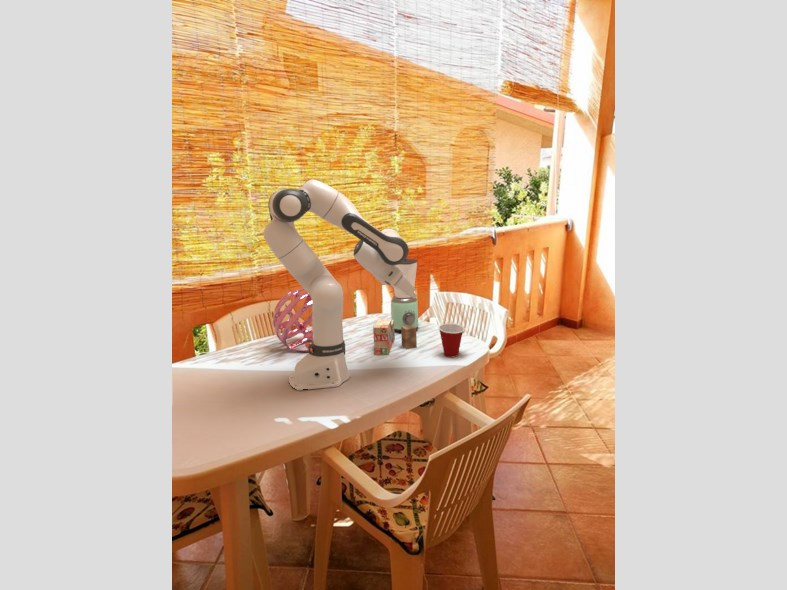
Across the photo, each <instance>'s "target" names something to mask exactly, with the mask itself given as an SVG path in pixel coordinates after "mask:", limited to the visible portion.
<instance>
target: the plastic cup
mask: <svg viewBox="0 0 787 590" xmlns="http://www.w3.org/2000/svg"><path fill="white" fill-rule="evenodd" d="M437 328H438V330H439V335H440V339H441V345H442V350H443V353H444V354H445V355H446V357H448V356H455V357H457V356H458V355H459V352H460V347H461V343H462V342H461V341H462V336H463V333H464V332H465V327H464V326H463V325H461V324H457V323H443V324H440V325H438V327H437ZM444 354H443V355H444ZM445 355H444V356H445ZM456 355H457V356H456Z"/></svg>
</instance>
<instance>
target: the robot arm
mask: <svg viewBox="0 0 787 590" xmlns="http://www.w3.org/2000/svg"><path fill="white" fill-rule="evenodd" d="M267 207H268V212H269V218H270V222H269V223H267V225H266V226H265V228H264V230H263V233H262V234H263V239H264V240H265V242H266V244H267V246H268V247H269V249H270V250H271V251H272V253H273V254H274V256H275V257H276V259H278V261H279V262H280V263H281V264H282V265H283V266H284V268H285V269H286V270H287V272H289V274H290V275H291V276H292V277H293V279H294V280H296V281H297V283H298V284H299V285H300V286H301V287H302V288H304V289H305V290H306V291H305V290H304V291H305V292H307V293H308V294H309V295H310V297H311V299H312V307H311V308H312V309H311V310H312V311H311V313H312V322H311V330H312V331H313V342H312V343H310V342H308V341H306V342H305V343H304V344H305V345H304V347H305V348H306V350H308V352H307V354H306V355H304V356H303V357H302V358H301V359H299V360H298V361H297V363H296V364H295V367H294V373H293V374H291V375H290V376H289V377H288V383H290V384H289V386H290V385H291V386H292V387H293V388H295V389H298V390H297V391H304V390H303V389H308V390H317V389H327V388H335V387H340V386H341V385H342V384H343V383H344V382H346V381H348V379H350V377H351V374H350V372H349V369H348V365H347V360H346V342H345V340H344V331H343V329H344V328H343V313H344V290H343V287H342V285H341V284H340V283H339V282H338V281H337V280H336V278H335V276H333V275H332V273H331V272H330V271H329V270H328V268H326V266H325V265H324V263H323V262H322V261H321V260H320V258H319V257H318V256H317V254H316V253H315V252H314V251H313V249H312V248H311V246H310V245H308V243H307V242H306V241H305V239H304V238H303V237H302V236H301V235H300V233H299V232H298V230H297V229H296V227H295V222H296V221H298V220H299V219H301V218H302V217H303V216H304V215H305V214H307V213H308V212H310V213H313V214H314V215H316V216H318V217H319V218H321V219H322V220H323V221H325V222H327V223H329V224H331V225H333V226H335V227H338V228H339V229H341V230H343V231H345V232H346V233H347V232H348V233H349V234H351V235H353V236H355V237H356V238H357V239H359V240H358V242H357V243H356V244H355V247H354V249H353V257H354V259H355V260H356V261H357V262H358V264H359V265H360V266H361V267H363V268H364V270H366V271H368V272H369V273H371V275H372V276H373V277H374V278H375V279H376V280H377V281H378V282H380V283H381V284H382V285H384V286H385V285H387V286H391V287H394V288H396V289H398V290H400V291H401V292H403V293H405V294H406V295H409V296H411V297H412V298H414V299H415V298H417V297H418V294H416V293H415V291H416V287H415V286H413V285H412V283H411V282H410V281H409V280H408V279H407V278H406V277H405V276H404V275H403V272H402V271H401V270H400V269H399V268H398V267H397V266H396V265H398V264H400V263H402V262H403V261H404V260H405V259H408V258H407V257H408V255H409V251H410V250H409V246H408V244H407V242H406V241H405V240H404V239H403V238H402V237H401V235H400V234H399V232H397V230H395V229H393V228H390V227H389V228H388V227H387V228H383V229H381V230H379V229H378V228H376V227H375V226H373V225H372V224H371V223H369V222H368V221H367V220H366V219H365V218H364V217H363V216H362V215H361V213H360V212H359V211H358V209H357V207H356V206H355V205H354V203H353V202H352V201H351V200H350V199H349V198H348V197H347V196H346V195H344V194H343V193H342V192H341V191H340V192H339V191H338V190H337V189H335V188H334V187H332V186H330V185H328V184H326V183H325V182H321V181H320V180H318V179H308V181H305V183H304V184H303V185H302V186H301V188H299V189H297V188H296V189H295V188H280V189H277V190H276V191H274V192H273V193H272V194H271V195H270V197H269V199H268V205H267ZM394 288H393V289H394ZM291 386H290V387H291ZM292 387H291V388H292ZM293 388H292V389H293ZM295 389H294V390H295Z"/></svg>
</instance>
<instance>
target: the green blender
mask: <svg viewBox="0 0 787 590" xmlns="http://www.w3.org/2000/svg"><path fill="white" fill-rule="evenodd" d="M396 266H397V267H398V268H399V269H400V270H401V271H402V272H403V275H404V276H405V277H406V278H407V279H408V280H409V281H410V282H411V283H412V285H413V286H414V287H415V285H416V277H417V269H418V259H415V258H406V259H405V260H404V261H403V262H402V263H400V264H398V265H396ZM393 292H394V296H393V297H392V299H391V302H390V315H391V317H390V319H391V320H394V331H396V332H398V334H401V326H408V325H413V326H414V327H416V332H418V328H419V306H418V305H419V303H418V298H417V297H416V298H415V299H414V298H412V297H411V296H409V295H406V294H405V293H403V292H401V291H400V290H398V289H396V288H394V287H393Z"/></svg>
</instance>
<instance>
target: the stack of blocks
mask: <svg viewBox="0 0 787 590" xmlns="http://www.w3.org/2000/svg"><path fill="white" fill-rule="evenodd" d="M372 330H373V331H372V332H373V344H374V345H373V351H374V352H373V353H374V355H376V356H377V355H379V356H381V355H383V356H384V355H386V356H388V355H389V356H390V353H391V350H392V348H393V344H394V341H395V337H396V336H395V330H394V320H391V318H383V319H382V318H381V319H380V318H377V320H376V322H375V323H374V326H373V329H372Z"/></svg>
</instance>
